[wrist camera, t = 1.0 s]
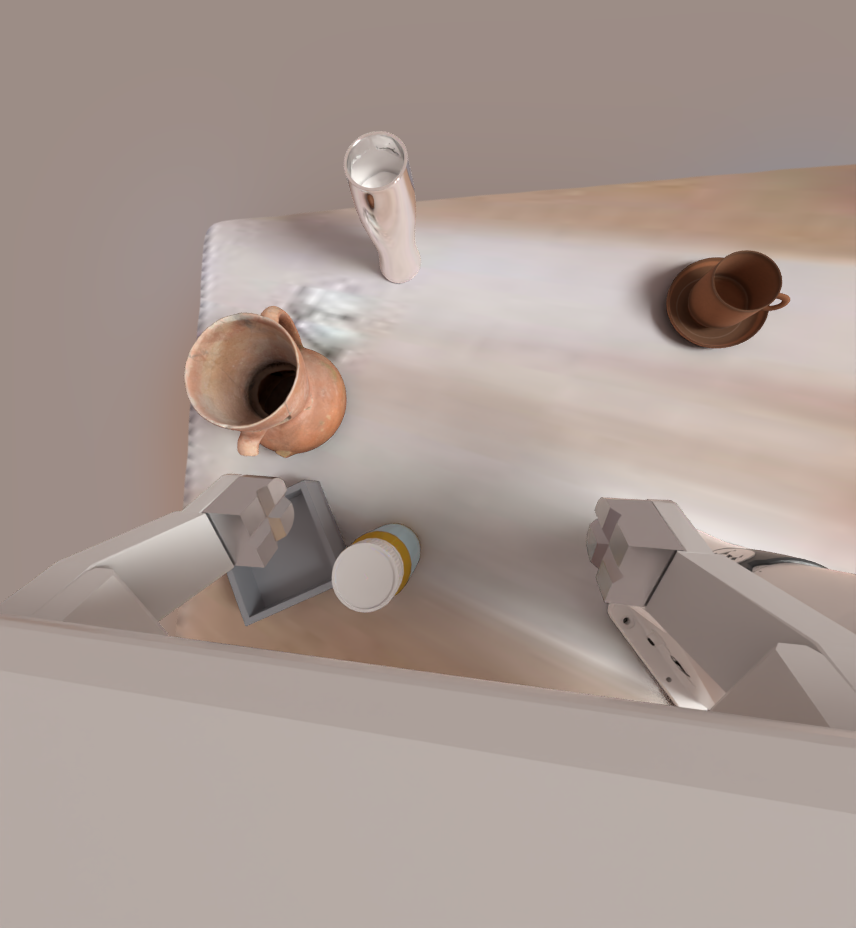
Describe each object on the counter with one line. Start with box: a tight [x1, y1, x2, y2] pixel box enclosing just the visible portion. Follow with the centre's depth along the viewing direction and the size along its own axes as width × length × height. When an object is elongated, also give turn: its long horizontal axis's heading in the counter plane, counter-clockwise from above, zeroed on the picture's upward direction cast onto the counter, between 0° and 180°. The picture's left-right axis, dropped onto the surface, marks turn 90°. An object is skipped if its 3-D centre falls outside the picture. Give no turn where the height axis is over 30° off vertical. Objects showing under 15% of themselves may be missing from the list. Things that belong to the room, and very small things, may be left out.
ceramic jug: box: [184, 306, 346, 458], centre depth 40 cm, size 18×14×14 cm
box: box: [227, 480, 346, 626], centre depth 43 cm, size 14×14×4 cm
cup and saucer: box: [666, 251, 790, 348], centre depth 41 cm, size 12×12×6 cm
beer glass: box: [344, 131, 421, 283], centre depth 40 cm, size 7×7×15 cm
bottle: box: [332, 523, 421, 612], centre depth 37 cm, size 7×7×15 cm
